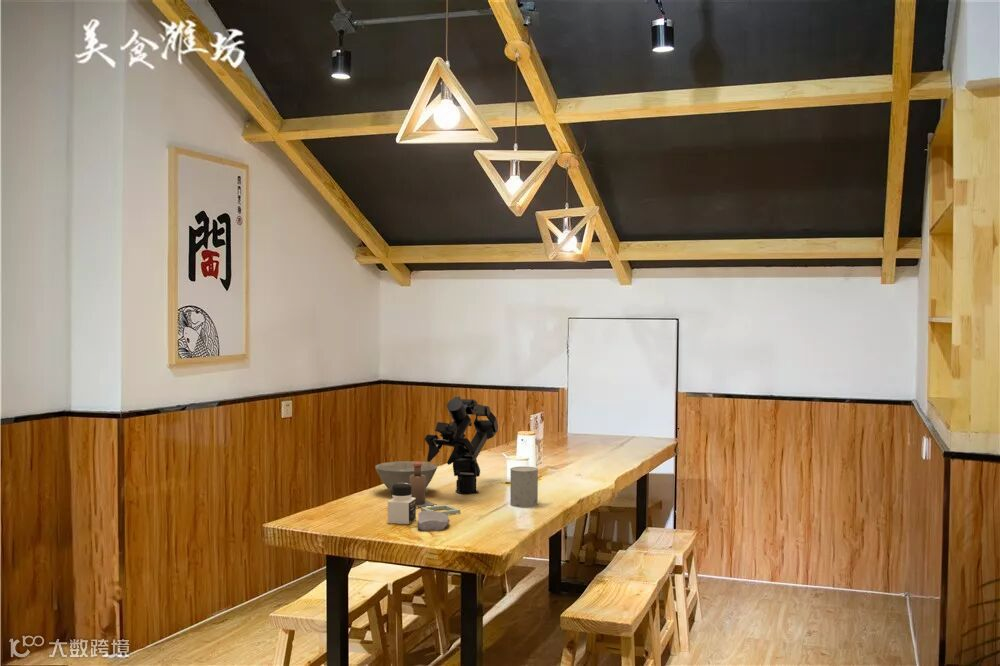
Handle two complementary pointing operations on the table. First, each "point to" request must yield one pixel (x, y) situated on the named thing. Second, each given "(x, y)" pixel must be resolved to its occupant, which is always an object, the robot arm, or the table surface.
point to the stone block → (432, 521)
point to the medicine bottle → (401, 505)
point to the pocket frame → (450, 509)
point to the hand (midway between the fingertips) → (437, 462)
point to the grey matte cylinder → (524, 487)
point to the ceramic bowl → (403, 472)
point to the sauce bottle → (418, 484)
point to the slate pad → (426, 504)
